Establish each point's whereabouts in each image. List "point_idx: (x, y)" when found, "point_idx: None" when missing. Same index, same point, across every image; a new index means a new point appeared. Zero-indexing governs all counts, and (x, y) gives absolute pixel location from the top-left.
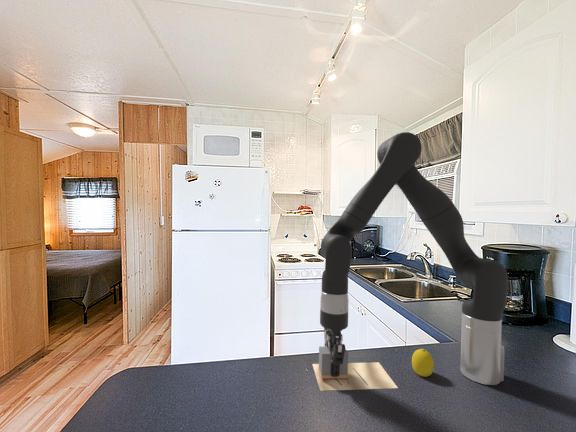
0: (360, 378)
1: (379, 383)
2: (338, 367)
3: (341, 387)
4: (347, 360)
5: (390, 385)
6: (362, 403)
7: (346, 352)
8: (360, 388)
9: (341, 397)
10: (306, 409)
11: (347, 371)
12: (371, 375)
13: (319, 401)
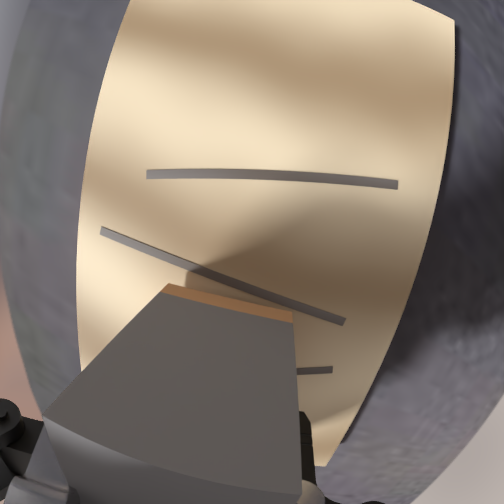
0: (306, 191)
1: (401, 86)
2: (313, 466)
3: (351, 378)
4: (298, 420)
5: (428, 36)
6: (462, 291)
7: (262, 501)
8: (412, 265)
9: (381, 375)
10: (367, 489)
11: (292, 340)
12: (289, 75)
13: (355, 457)
